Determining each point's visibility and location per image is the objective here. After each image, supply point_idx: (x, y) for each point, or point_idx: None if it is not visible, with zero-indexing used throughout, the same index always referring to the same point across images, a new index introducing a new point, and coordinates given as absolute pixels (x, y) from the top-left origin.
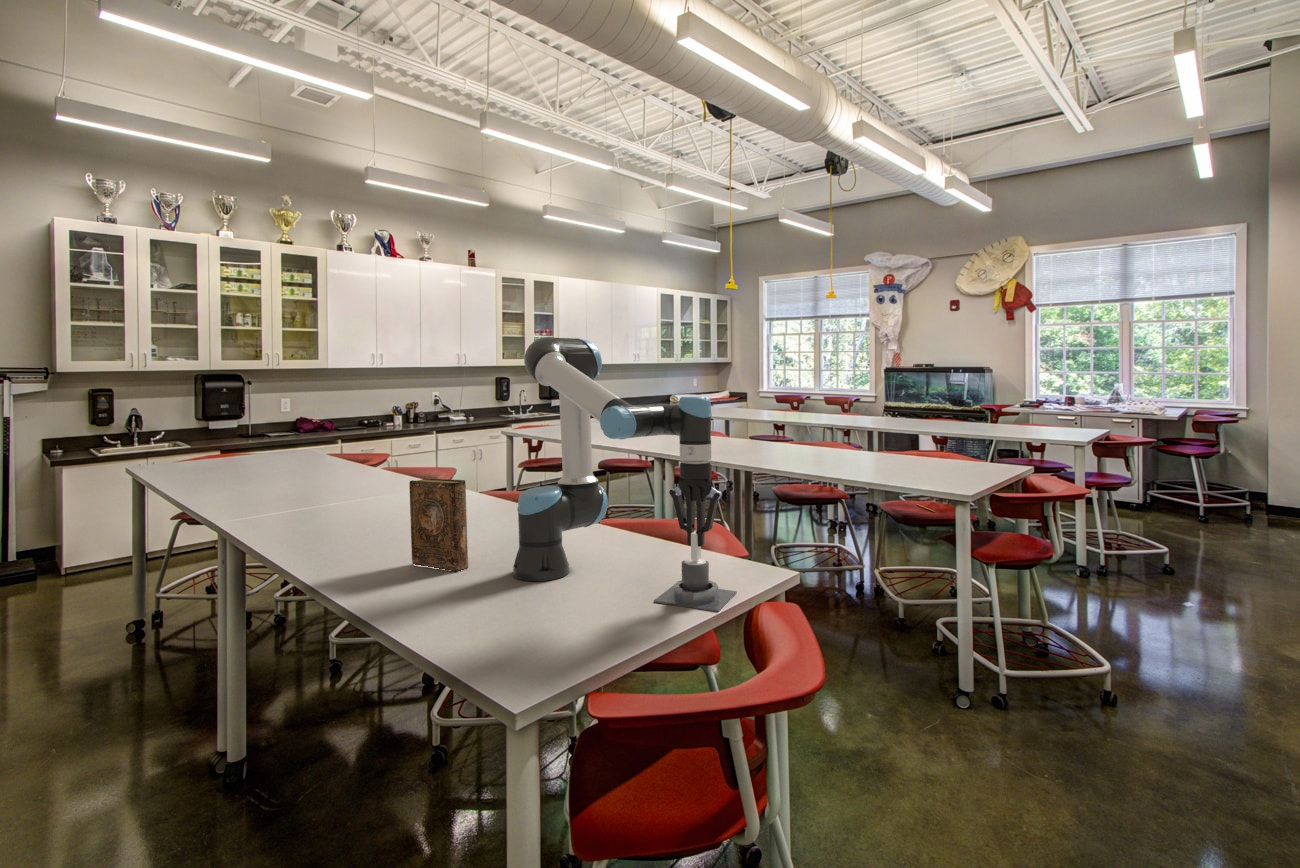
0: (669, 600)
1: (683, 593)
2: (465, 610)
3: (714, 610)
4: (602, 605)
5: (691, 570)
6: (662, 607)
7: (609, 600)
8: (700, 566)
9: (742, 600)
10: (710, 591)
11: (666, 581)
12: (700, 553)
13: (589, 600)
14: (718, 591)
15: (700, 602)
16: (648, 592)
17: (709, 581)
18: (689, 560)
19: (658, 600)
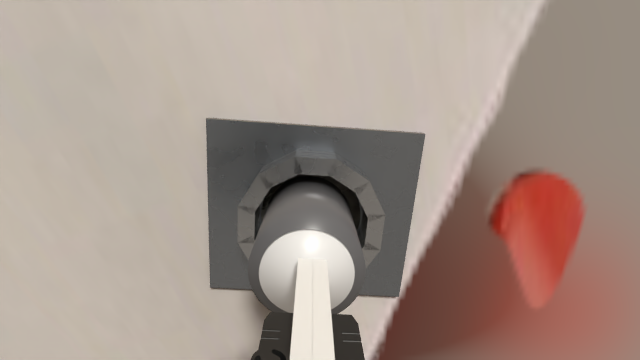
0: None
1: None
2: None
3: (387, 294)
4: (97, 341)
5: None
6: (249, 307)
7: (91, 306)
8: (342, 309)
9: (448, 190)
10: (369, 262)
11: (157, 87)
12: (327, 275)
13: (42, 322)
14: (368, 156)
15: None
16: (156, 214)
17: (343, 173)
18: (278, 270)
19: (222, 284)
